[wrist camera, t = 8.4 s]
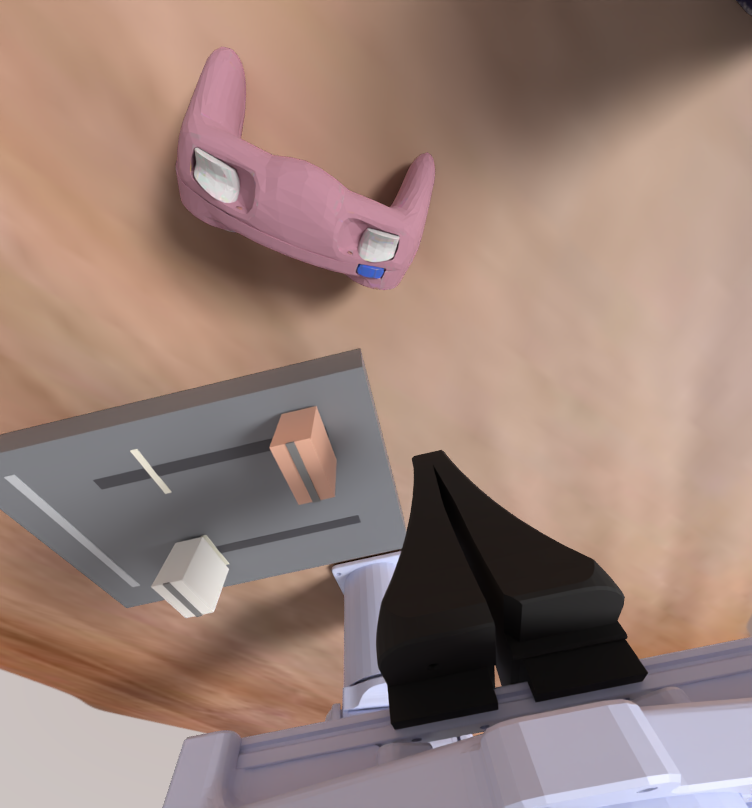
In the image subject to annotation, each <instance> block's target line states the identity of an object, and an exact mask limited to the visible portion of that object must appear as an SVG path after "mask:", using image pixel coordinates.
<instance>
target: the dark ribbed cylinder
mask: <svg viewBox="0 0 752 808" xmlns="http://www.w3.org/2000/svg"><path fill="white" fill-rule="evenodd" d="M736 1H737V2H738V3H739V4H740V5H741V7H742V8H743V9H744V10H745V11H746V12H747V13H748V14H750V15H751V16H752V0H736Z"/></svg>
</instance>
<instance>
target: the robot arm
mask: <svg viewBox="0 0 752 808" xmlns="http://www.w3.org/2000/svg"><path fill="white" fill-rule="evenodd" d="M412 462H413V467H414V487H413V499H412V506H411V513H410V518H409V523H408V528H407V532H406V536H405V539H404V543H403V547H402V550H401V551H398V552H394V553H389V554H385V555H380V556H375V557H371V558H366V559H361V560H357V561H352V562H348V563H343V564H338V565H335V566H333V567H332V573H333V575H334V577H335V579H336V581H337V583H338V585H339V587H340V589H341V590H342V592H343V594H344V688H343V706H342V710H340V703H338V704H333V706H332V710H330V711H329V713H328V714H327V716H326V720H325V722H320V723H315V724H310V725H305V726H300V727H295V728H290V729H285V730H279V731H274V732H269V733H264V734H259V735H254V736H249V737H244V738H241V737H240V736H239V735H238V734H237V733H236V732H233V731H227V730H224V731H217V732H212V733H207V734H202V735H196V736H191V737H188V738H187V739H186V740H184V743H183V745H182V749H181V752H180V755H179V758H178V761H177V764H176V767H175V770H174V774H173V776H172V780H171V783H170V786H169V789H168V792H167V795H166V798H165V801H164V804H163V807H162V808H752V637H749V638H744V639H739V640H734V641H729V642H724V643H719V644H714V645H708V646H703V647H698V648H693V649H688V650H683V651H678V652H673V653H668V654H663V655H658V656H653V657H648V658H643V659H638V657H637V656H636V654H635V653H634V651H633V650H632V648H631V647H630V645H629V644H628V643H627V641H626V640H625V639H627V634H626V632H625V631H624V629H623V628H622V627H621V625H620V624H619V622H618V621H617V620H618V618H619V615H620V613H621V610H622V608H623V605H624V598H625V597H624V595H623V593H622V591H621V590H620V589H619V587H618V586H617V585H616V584H615V582H614V581H613V580H612V579H611V577H610V576H609V575H608V574H607V573H606V572H605V571H604V570H603V569H602V568H601V567H600V566H599V565H598V564H597V563H596V561H595V560H593V559H591V558H589V557H587V556H585V555H583V554H581V553H579V552H577V551H575V550H573V549H570V548H568V547H566V546H564V545H562V544H561V543H559V542H557V541H555V540H553V539H552V538H550V537H548V536H546V535H544V534H543V533H541V532H539V531H538V530H536V529H534V528H533V527H531V526H530V525H528V524H526V523H525V522H523V521H521V520H520V519H518V518H517V517H516V516H514V515H513V514H511V513H510V512H508V511H507V510H506V509H504V508H503V507H501V506H500V505H499V504H497V503H496V502H495V501H494V500H492V499H491V498H490V497H489V496H487V495H486V494H485V493H484V492H483V491H482V490H480V489H479V488H478V487H477V486H476V485H475V484H474V483H473V482H472V481H471V480H469V479H468V478H467V477H466V476H465V475H464V474H463V473H462V472H461V471H460V470H459V469H458V468H457V466H456V465H455V464H454V463H453V462H452V461H451V460H450V459H449V457H448V456H447V455H446V454H445V452H444V451H442V450H439V451H435V452H430V453H426V454H421V455H417V456H414V457H413V458H412ZM494 665H496V668H497V672H498V675H499V678H500V682H501V685H502V687H496V688H495V674H494ZM484 731H485V732H484ZM479 732H484V733H483V734H480V735H477V736H472V734H474V733H479Z"/></svg>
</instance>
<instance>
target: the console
mask: <svg viewBox="0 0 752 808" xmlns="http://www.w3.org/2000/svg"><path fill="white" fill-rule="evenodd" d="M314 406H317V409H318V411H319V414H320V417H321V419H322V422H323V425H324V427H325V430H326V433H327V436H328V438H329V441H330V444H331V446H332V449H333V452H334V454H335V457H336V460H337V463H336V485H335V497H332V498H328V499H323V500H321V501H320V502H316V503H313V502H310V503H306V504H301V505H298V503H297V501H296V499H295V497H294V495H293V493H292V491H291V489H290V487H289V485H288V483H287V481H286V479H285V477H284V475H283V473H282V471H281V469H280V468H279V466H278V464H277V462H276V460H275V458H274V456H273V454H272V452H271V450H270V448H269V447H270V444H271V442H272V439H273V436H274V433H275V431H276V428H277V425H278V423H279V420H280V417H281V414H284V413H289V412H293V411H297V410H301V409H306V408H310V407H314ZM0 509H1V510H2V511H3V512H5V513H6V514H7V515H9V516H10V517H11V518H12V519H14V520H15V521H16V522H17V523H19V524H20V525H21V526H23V527H24V528H25V529H26V530H28V531H29V532H30V533H31V534H33V535H34V536H35V537H37V538H38V539H39V540H40V541H42V542H43V543H44V544H46V545H47V546H48V547H49V548H51V549H52V550H53V551H54V552H56V553H57V554H58V555H60V556H61V557H62V558H63V559H65V560H66V561H67V562H68V563H70V564H71V565H72V566H74V567H75V568H76V569H77V570H79V571H80V572H81V573H83V574H84V575H85V576H86V577H88V578H89V579H90V580H91V581H93V582H94V583H95V584H97V585H98V586H99V587H100V588H102V589H103V590H104V591H106V592H107V593H108V594H109V595H111V596H112V597H113V598H114V599H116V600H117V601H118V602H120V603H121V604H122V605H123V606H125V607H126V608H129V607H134V606H139V605H143V604H148V603H152V602H157V601H162V600H165V599H164V598H163V597H162V596H160V595H159V594H158V593H157V592H156V591H155V590H154V589H153V588H152V587H151V586H152V584H153V582H154V580H155V579H156V577H157V575H158V573H159V571H160V570H161V568H162V566H163V564H164V563H165V561H166V559H167V557H168V555H169V554H170V552H171V550H172V548H173V546H174V545H175V543H177V542H182V541H186V540H191V539H195V538H200V537H203V538H204V539H205V540H206V541H207V543H208V544H209V545H210V546H211V548H212V549H213V550H214V551H215V552H216V554H217V555H218V556H219V557H220V559H221V560H222V561H223V562H224V563H225V565H226V566H227V567H228V568H229V571H228V573H227V576H226V579H225V582H224V585H223V587H226V586H231V585H236V584H240V583H245V582H249V581H254V580H259V579H263V578H268V577H272V576H277V575H282V574H286V573H291V572H296V571H300V570H305V569H309V568H314V567H319V566H323V565H328V564H332V563H337V562H342V561H346V560H351V559H356V558H360V557H365V556H369V555H374V554H379V553H383V552H388V551H393V550H397V549H402V547H403V543H404V539H405V536H406V527H405V522H404V518H403V513H402V509H401V506H400V502H399V498H398V494H397V490H396V486H395V482H394V478H393V474H392V470H391V466H390V463H389V459H388V455H387V451H386V447H385V443H384V439H383V435H382V431H381V427H380V423H379V419H378V416H377V412H376V408H375V404H374V400H373V396H372V392H371V388H370V384H369V380H368V376H367V373H366V369H365V365H364V361H363V357H362V353H361V349H356V350H351V351H347V352H343V353H339V354H335V355H331V356H326V357H322V358H318V359H314V360H310V361H306V362H301V363H297V364H293V365H289V366H285V367H281V368H276V369H272V370H268V371H264V372H260V373H256V374H251V375H247V376H243V377H239V378H235V379H231V380H226V381H222V382H218V383H214V384H210V385H206V386H201V387H197V388H193V389H189V390H185V391H181V392H176V393H172V394H168V395H164V396H160V397H156V398H151V399H147V400H143V401H139V402H135V403H131V404H126V405H122V406H118V407H114V408H110V409H106V410H101V411H97V412H93V413H89V414H85V415H81V416H76V417H72V418H68V419H64V420H60V421H56V422H51V423H47V424H43V425H39V426H35V427H31V428H26V429H22V430H18V431H14V432H10V433H6V434H1V435H0Z"/></svg>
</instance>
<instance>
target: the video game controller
mask: <svg viewBox="0 0 752 808" xmlns="http://www.w3.org/2000/svg"><path fill="white" fill-rule="evenodd" d="M245 103H246V82H245V73H244V69H243V65H242V62H241V60H240V59H239V57H238V55H237V54H236V53H235V52H234V51H233V49H230V48H226V47H220V48H218V49H216V50H215V51H213V53H212V54H211V55H210V56H209V57H208V59H207V61H206V63H205V66H204V68H203V70H202V73H201V75H200V78H199V80H198V83H197V86H196V88H195V91H194V93H193V96H192V99H191V101H190V104H189V107H188V109H187V112H186V115H185V117H184V120H183V123H182V127H181V131H180V135H179V141H178V151H177V161H176V174H177V180H178V186H179V192H180V198H181V201H182V203H183V205H184V206H185V208H186V209H187V210H189V211H190V212H191V213H192V214H193V215H194V216H195V217H197V218H198V219H200V220H202V221H203V222H205V223H207V224H209V225H211V226H214V227H218V228H221V229H224V230H227V231H230V232H237V233H239V234H241V235H243V236H245V237H247V238H249V239H250V240H252V241H254V242H256V243H258V244H260V245H263V246H265V247H267V248H270V249H272V250H274V251H277V252H279V253H281V254H284V255H286V256H288V257H291V258H294V259H297V260H300V261H303V262H305V263H308V264H311V265H314V266H317V267H320V268H324V269H327V270H331V271H334V272H339V273H343V274H345V275H346V276H348V277H349V278H350V279H352V280H353V281H355V282H357V283H359V284H361V285H363V286H366V287H369V288H373V289H381V290H387V289H392V288H395V287H396V286H397V285H398V284H399V283H400V281H401V280H402V278H403V276H404V274H405V273H406V271H407V269H408V268H409V266H410V264H411V263H412V261H413V259H414V256H415V254H416V252H417V250H418V247H419V244H420V241H421V238H422V234H423V230H424V226H425V222H426V217H427V213H428V208H429V204H430V199H431V194H432V190H433V185H434V179H435V165H434V160H433V157H432V156H431V155H430V154H429V153H428V152H427V153H424V154H421V155H419V156H418V157H417V158H416V159H415V160H414V162H413V163H412V164H411V166H410V167H409V169H408V172H407V174H406V176H405V178H404V180H403V183H402V185H401V187H400V190H399V192H398V194H397V196H396V198H395V200H394V202H393V203H392V205H391V206H390V207H388V206H385V205H383V204H381V203H379V202H377V201H375V200H372V199H370V198H367V197H365V196H362V195H360V194H357V193H355V192H352V191H350V190H348V189H347V188H346V187H345V186H344V185H342V184H341V183H340V182H339V181H338V180H336V179H335V178H334V177H333V176H331V175H330V174H328V173H327V172H325V171H324V170H322V169H321V168H319V167H317V166H315V165H313V164H311V163H309V162H307V161H305V160H300V159H296V158H291V157H285V156H276V155H272V154H270V153H268V152H266V151H264V150H262V149H260V148H258V147H256V146H254V145H252V144H250V143H248V142H246V141H245V140H242V139H241V135H242V129H243V123H244V116H245Z"/></svg>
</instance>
